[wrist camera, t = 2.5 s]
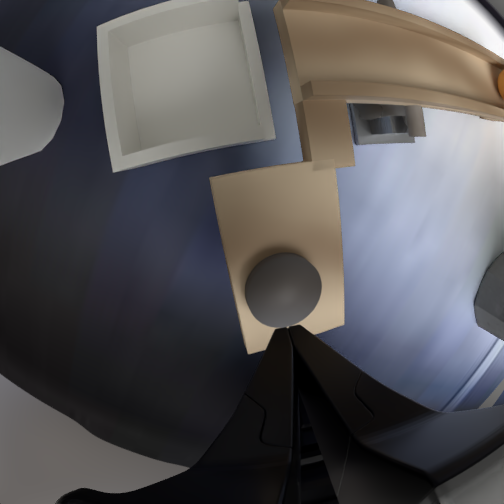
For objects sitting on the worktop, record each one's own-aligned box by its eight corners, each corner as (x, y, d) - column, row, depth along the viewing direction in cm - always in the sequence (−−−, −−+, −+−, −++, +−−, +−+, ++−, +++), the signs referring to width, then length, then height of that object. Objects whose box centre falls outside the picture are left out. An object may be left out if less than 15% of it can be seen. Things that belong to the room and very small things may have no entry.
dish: (272, 140, 16) (280, 136, 13) (136, 168, 16) (113, 172, 13) (247, 12, 13) (249, -14, 10) (118, 44, 13) (96, 26, 10)
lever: (494, 236, 19) (529, 250, 15) (238, 326, 15) (257, 380, 11) (478, 51, 13) (515, 47, 9) (178, 5, 9) (179, -46, 5)
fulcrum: (411, 142, 16) (438, 143, 13) (356, 144, 16) (378, 144, 13) (385, 23, 13) (407, 8, 10) (329, 18, 13) (344, -2, 10)
